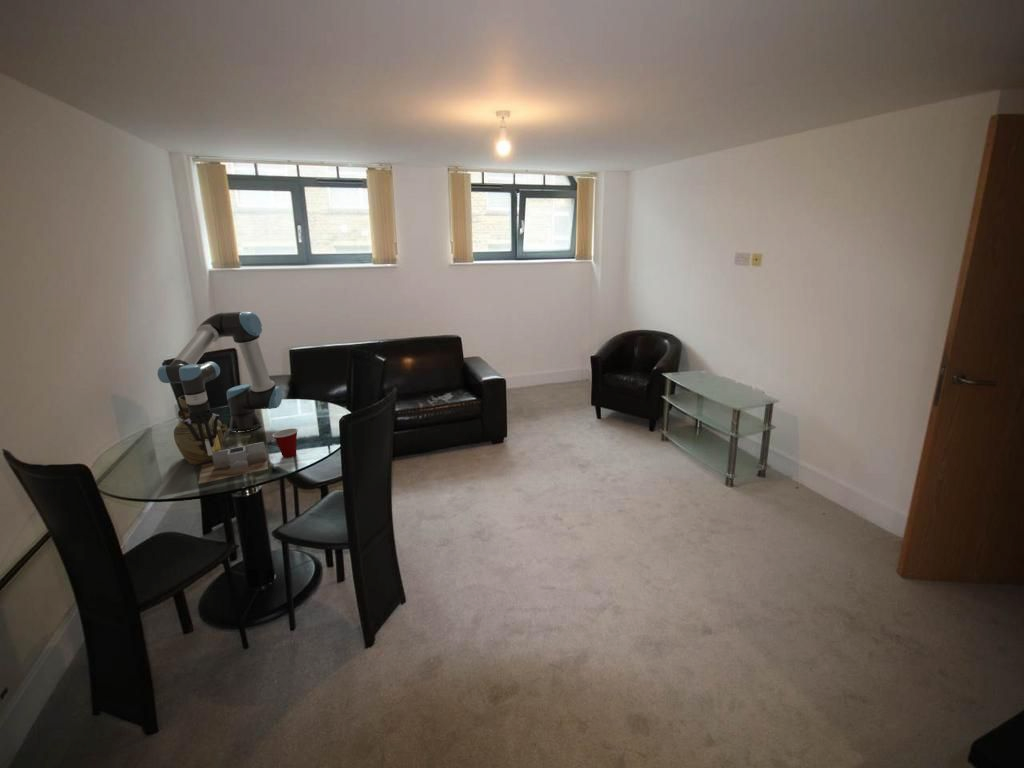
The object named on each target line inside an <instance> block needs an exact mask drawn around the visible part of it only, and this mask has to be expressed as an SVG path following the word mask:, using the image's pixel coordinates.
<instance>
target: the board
mask: <svg viewBox="0 0 1024 768" xmlns="http://www.w3.org/2000/svg"><path fill="white" fill-rule="evenodd" d="M266 455H267V456H268V453H267V451H266ZM268 469H269V465H268V458H267V459H265V460H260V461H256V462H251V463H249V468H245V469H241V470H236V471H231V467H230V466H228V467H224V468H219V469H215V467H214V462H210V463H207V464H206V463H205V464H202V465H201V468H200V473H199V477H198V483H197V484H198V485H200V484H204V483H205V484H206V483H210V482H213V481H218V480H223V479H227V478H232V477H237V476H242V475H245V474H246V475H247V474H250V473H251V474H252V473H255V472H260V471H265V470H268Z"/></svg>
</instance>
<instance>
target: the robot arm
mask: <svg viewBox="0 0 1024 768" xmlns="http://www.w3.org/2000/svg"><path fill="white" fill-rule="evenodd" d="M262 327H263V325H262V322H261V319H260V317H259V316H258V315H257V314H256V313H254V312H252V311H236V312H235V311H233V312H232V311H231V312H219V313H216V314H213V315H211V316H209V317H207V318H206V319H205V320H204V321H203V322H201V323H200V325H199V326H198V327H197V329H196V333H195V334H194V336H193V337H192V338H191V339H190V340H189V342H188V343H187V344H186V345H185V346H184V348H183V349H181V351H180V352H179V353H178V354H177V356H176V357H175V358H174V359H173V360H172V362H171V363H170V364H169V365H167V364H166V365H160V366H159V368H158V370H157V377H158V380H159V381H160V382H161V383H163V384H181V386H182V390H183V394H184V395H185V399H186V403H187V404H188V405H187V406H188V410H189V418H188V419H187V420H185V421H184V424H185V425H186V426H187V427H188V428H189V430H190V431H191V433H192V435H193V436H194V438H195V440H196V441H201V442H202V445H203V448H207V452H208V456H210V455H213V451H212V447H213V446H214V443H213V439H214V438H216V436H217V421H218V420H219V418H220V414H218V413H217V414H216V413H214V412H213V411H212V410H211V407H210V406H211V405H210V401H208V399H209V398H208V394H207V389H206V383H207V384H208V383H209V382H210V381H213V380H216V378H217V377H219V375H220V373H221V367H220V366H219V365H218V364H217V363H216V362H215V361H206V362H203V363H199V364H197V363H198V362H199V360H200V359H201V358H202V356H203V355H204V354H205V353H206V351H207V350H208V349H209V348H210V346H211V345H212V344H213V343H215V342H217V341H218V340H219V339H220V338H225V337H232V339H233V342H234V343H236V344H238V346H239V349H240V352H241V355H242V358H243V361H244V363H245V366H246V369H247V372H248V375H249V378H250V381H251V384H248V383H247V384H240V385H236V386H233V387H231V388H229V389H227V390H226V400H227V404H228V408H229V413H230V422H229V431H230V430H231V431H236V432H238V431H247V430H251V429H254V428H257V427H259V426H260V425H261V424H262V420H261V418H260V417H259V415H258V414H257V412H256V410H271V409H277V408H279V407H280V405H281V404H282V401H283V390H282V388H281V386H278V385H277V386H276V384H275V381H274V380H272V379H271V378H270V375H269V371H268V369H267V366H266V362H265V359H264V356H263V353H262V350H261V347H260V343H259V339H260V335H261V334H262V331H263V329H262ZM211 417H213V419H214V428H213V435H212V434H211V430H210V426H209V420H210V419H211ZM191 420H192V421H193V422H194V423H196V424H197V426H198V429H199V433H200V437H199V435H198V434H197V432H196V430H195V429H194V427H193V425H192V424H191ZM202 423H204V424H205V427H206V431H207V435H208V439H205V436H204V432H203V428H202ZM259 428H260V427H259ZM231 431H230V432H231Z"/></svg>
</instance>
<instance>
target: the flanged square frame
mask: <svg viewBox="0 0 1024 768" xmlns="http://www.w3.org/2000/svg"><path fill="white" fill-rule="evenodd" d="M247 454H248V452H247V448H246V445H241V446H237V447H231V448H227V449H223V450H220V451H215V452H213V455H212V458H213V460H212V461H213V462H212V463H214V467H215V469H219V468H224V467H228V466H230V462H235V461H240V460H245V459H247Z"/></svg>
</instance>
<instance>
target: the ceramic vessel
mask: <svg viewBox="0 0 1024 768" xmlns="http://www.w3.org/2000/svg"><path fill="white" fill-rule="evenodd" d="M177 399H178V402H179V405H180V407H181V409H180V410H178V413H177V415H178V417H179V419H181V421H180V422H179V423H178V424H177V425H176V426H175V428H174V429H173V438H174V439H173V440H174V442H175V445H176V447H177V448H178V450H179V452H180V453H181V455H182V457H183V458H184V459H185V461H186V462H187V463H188V464H190V465H199V464H204V463H207V462H209V461H213V458H212V455H210V456H208V452H207V448H203V445H202V442H201V441H196V440H195V438H194V436H193V435H192V433H191V431H190V430H189V428H188V427H187V426H186V425H185V424H184V421H185V420H187V419H188V418H189V410H188V406H187V405H188V404H187V403H186V399H185V394H184V395H181V396H179V397H178V398H177ZM191 424H192V425H193V427H194V429H195V430H196V432H197V434H198V435H199V437H200V433H199V429H198V426H197V424H196V423H194V422H193V421H192V420H191ZM209 426H210V430H211V434H212V435H213V428H214V419H213V417H211V419H210V420H209ZM202 428H203V432H204V436H205V439H208V435H207V431H206V427H205V424H204V423H202ZM225 434H227V435H228V434H229V430H228V425H227V424H222V422H221V420H219V419H218V421H217V435H218V439H219V443H220V447H221V450H224V446H223V445H224V444H223V442H224V440H225Z"/></svg>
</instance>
